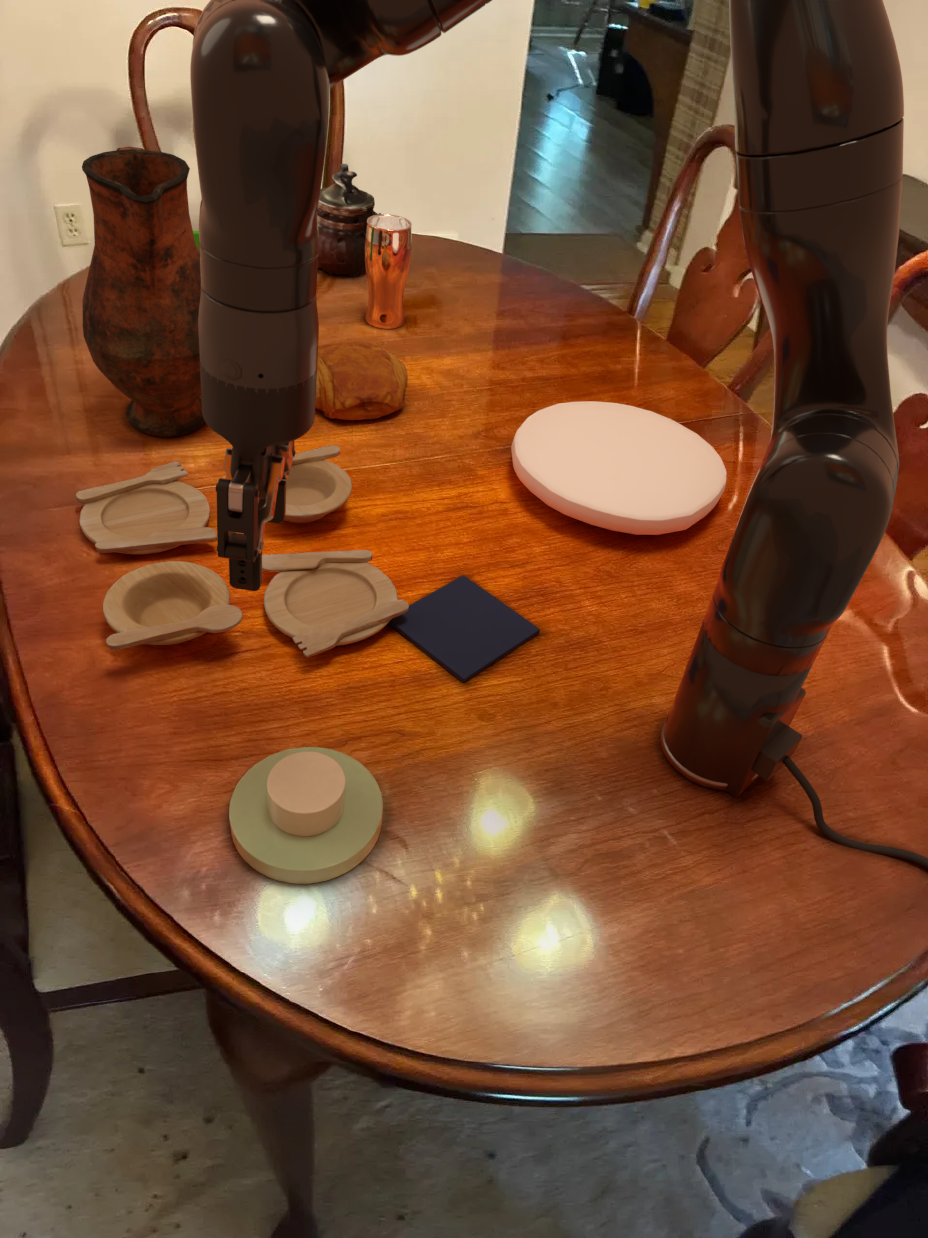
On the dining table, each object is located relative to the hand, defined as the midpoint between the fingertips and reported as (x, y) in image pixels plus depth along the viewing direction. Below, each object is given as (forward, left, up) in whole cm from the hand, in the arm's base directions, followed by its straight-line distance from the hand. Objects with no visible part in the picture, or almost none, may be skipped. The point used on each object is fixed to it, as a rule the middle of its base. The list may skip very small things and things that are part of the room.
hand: (258, 551), depth 71 cm
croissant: (+38, -42, -18) cm, 60 cm away
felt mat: (-4, -21, -18) cm, 28 cm away
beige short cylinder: (-12, +5, -16) cm, 20 cm away
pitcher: (+50, -21, -18) cm, 58 cm away
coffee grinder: (+72, -69, -18) cm, 102 cm away
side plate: (-12, +5, -18) cm, 22 cm away
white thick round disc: (+3, -55, -18) cm, 58 cm away
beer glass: (+54, -62, -18) cm, 85 cm away
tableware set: (+19, -10, -18) cm, 27 cm away
